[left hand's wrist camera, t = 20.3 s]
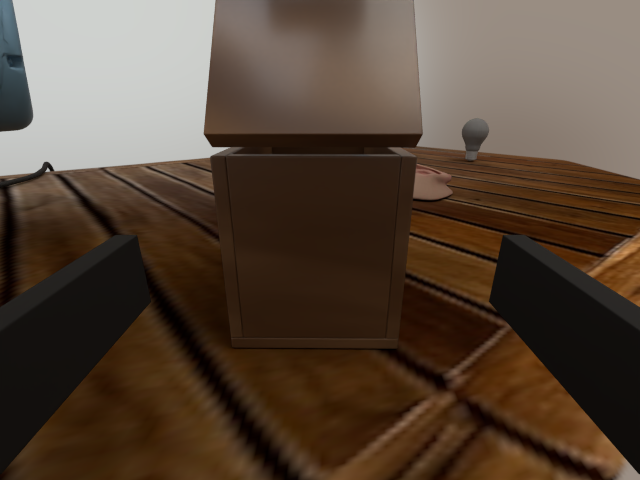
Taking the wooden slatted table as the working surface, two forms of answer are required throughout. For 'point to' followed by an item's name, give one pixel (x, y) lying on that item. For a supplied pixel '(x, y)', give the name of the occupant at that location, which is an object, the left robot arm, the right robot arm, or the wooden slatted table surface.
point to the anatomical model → (430, 184)
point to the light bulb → (474, 137)
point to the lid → (313, 74)
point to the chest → (314, 244)
